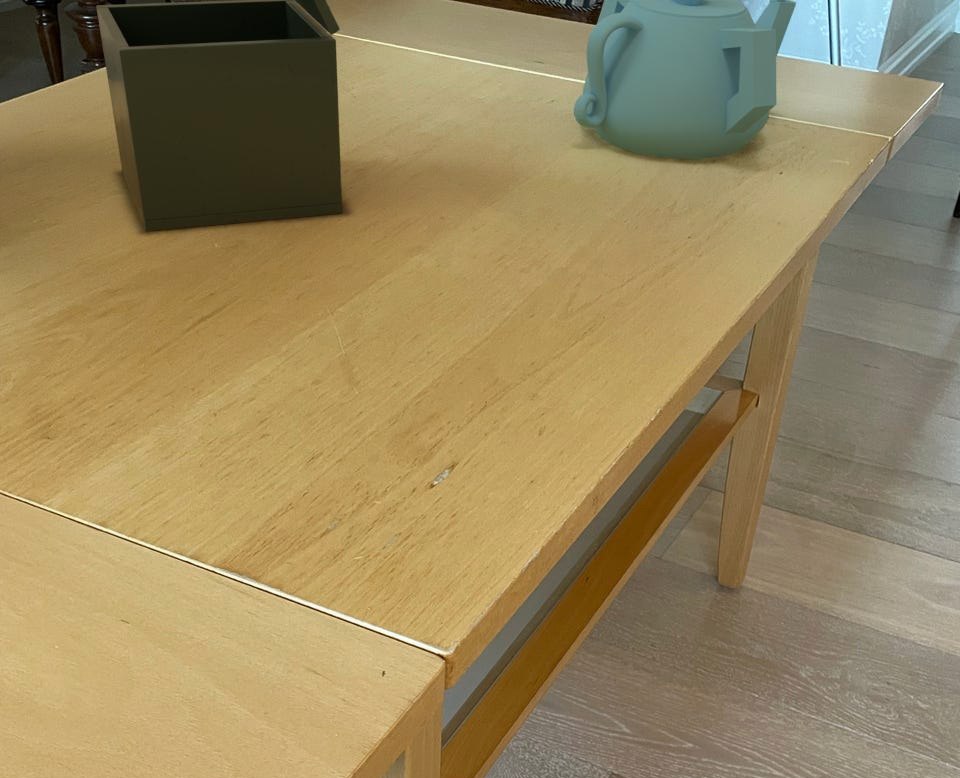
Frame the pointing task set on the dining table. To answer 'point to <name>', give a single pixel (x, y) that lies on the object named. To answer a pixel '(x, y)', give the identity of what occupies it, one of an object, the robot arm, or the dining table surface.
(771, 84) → the teapot
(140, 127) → the trash bin
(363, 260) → the dining table surface
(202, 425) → the dining table surface
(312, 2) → the bin lid
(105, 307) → the dining table surface
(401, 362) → the dining table surface
